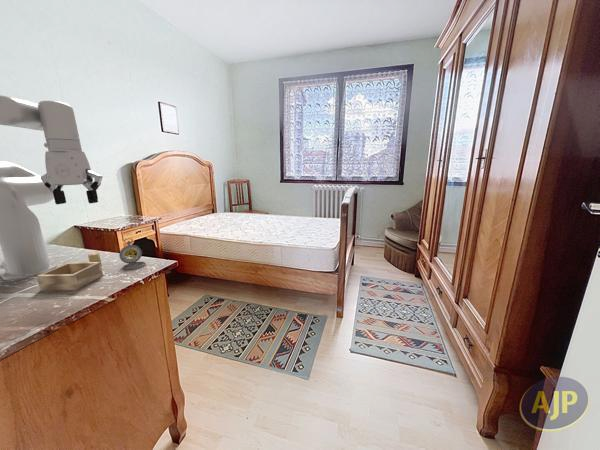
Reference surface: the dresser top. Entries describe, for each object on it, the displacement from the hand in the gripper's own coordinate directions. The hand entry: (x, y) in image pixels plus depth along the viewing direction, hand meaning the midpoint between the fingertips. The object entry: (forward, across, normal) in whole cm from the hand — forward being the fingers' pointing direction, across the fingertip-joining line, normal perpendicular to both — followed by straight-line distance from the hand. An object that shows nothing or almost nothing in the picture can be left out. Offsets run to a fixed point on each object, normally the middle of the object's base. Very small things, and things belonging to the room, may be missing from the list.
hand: (77, 203), depth 78 cm
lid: (+24, -1, +3) cm, 24 cm away
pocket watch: (+24, +12, +3) cm, 27 cm away
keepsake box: (+23, +1, -9) cm, 25 cm away
